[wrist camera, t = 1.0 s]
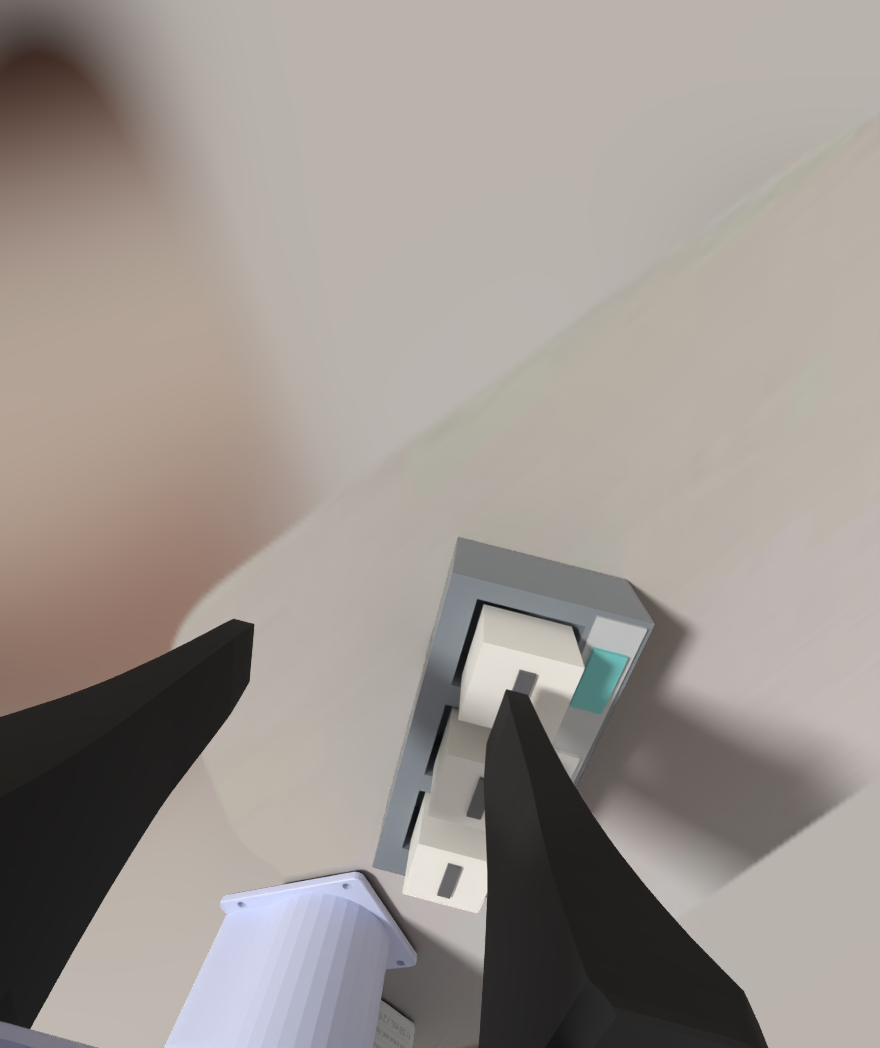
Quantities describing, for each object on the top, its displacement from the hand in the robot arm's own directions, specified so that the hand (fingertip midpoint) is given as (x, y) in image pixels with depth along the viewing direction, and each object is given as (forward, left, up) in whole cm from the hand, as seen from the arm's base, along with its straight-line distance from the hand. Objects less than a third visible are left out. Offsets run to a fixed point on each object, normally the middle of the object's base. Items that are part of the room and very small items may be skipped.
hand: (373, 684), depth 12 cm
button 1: (-2, -10, -3) cm, 10 cm away
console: (+1, -7, -6) cm, 9 cm away
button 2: (+3, -3, -3) cm, 5 cm away
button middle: (+1, -6, -3) cm, 7 cm away
